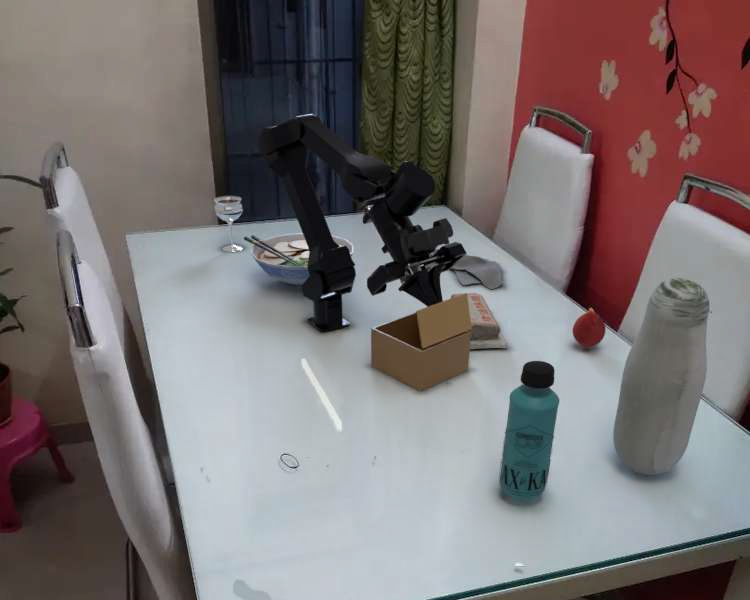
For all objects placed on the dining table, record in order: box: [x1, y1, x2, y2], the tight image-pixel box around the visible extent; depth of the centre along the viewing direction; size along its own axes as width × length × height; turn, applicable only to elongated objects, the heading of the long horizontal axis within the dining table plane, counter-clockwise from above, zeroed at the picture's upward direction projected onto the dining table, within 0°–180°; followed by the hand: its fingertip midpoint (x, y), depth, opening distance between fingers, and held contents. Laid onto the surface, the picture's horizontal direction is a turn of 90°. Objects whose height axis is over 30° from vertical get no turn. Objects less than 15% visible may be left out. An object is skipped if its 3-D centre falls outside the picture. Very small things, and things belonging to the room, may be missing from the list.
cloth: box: [429, 248, 503, 290], centre depth 182 cm, size 26×14×2 cm, turn 20°
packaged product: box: [449, 292, 509, 350], centre depth 152 cm, size 18×5×10 cm
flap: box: [415, 292, 472, 348], centre depth 131 cm, size 6×12×1 cm
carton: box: [370, 311, 471, 392], centre depth 138 cm, size 13×12×7 cm
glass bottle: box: [612, 277, 710, 476], centre depth 106 cm, size 10×10×28 cm
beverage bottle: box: [498, 360, 560, 501], centre depth 103 cm, size 6×7×20 cm
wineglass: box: [213, 195, 244, 253], centre depth 192 cm, size 7×7×12 cm
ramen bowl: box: [243, 232, 354, 287], centre depth 174 cm, size 25×23×8 cm
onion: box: [572, 307, 607, 350], centre depth 145 cm, size 6×6×8 cm
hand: (441, 312), depth 131 cm, fingers closed, pressing on flap
